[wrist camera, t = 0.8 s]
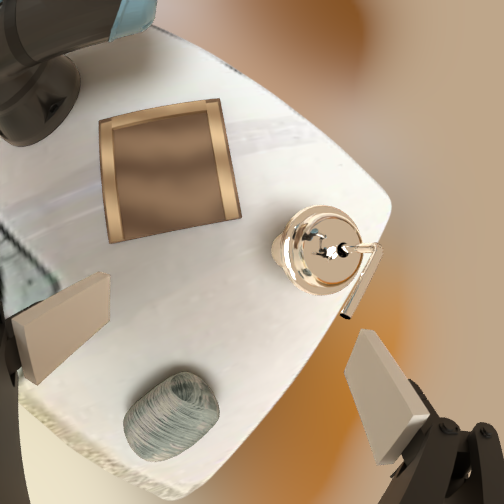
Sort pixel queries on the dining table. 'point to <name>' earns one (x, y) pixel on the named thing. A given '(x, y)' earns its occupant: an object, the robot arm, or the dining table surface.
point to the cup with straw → (325, 254)
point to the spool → (171, 417)
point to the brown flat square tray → (166, 170)
